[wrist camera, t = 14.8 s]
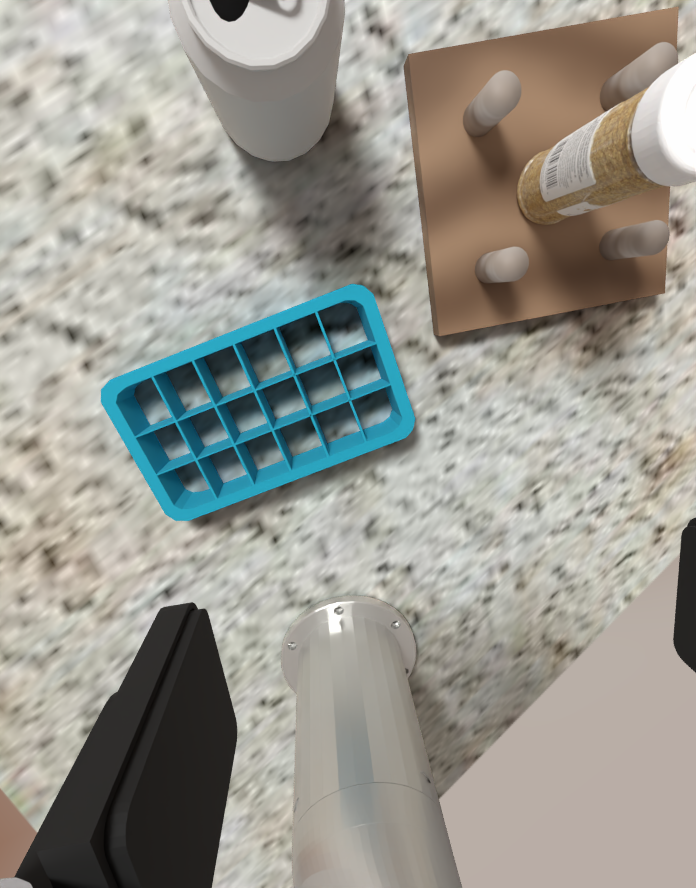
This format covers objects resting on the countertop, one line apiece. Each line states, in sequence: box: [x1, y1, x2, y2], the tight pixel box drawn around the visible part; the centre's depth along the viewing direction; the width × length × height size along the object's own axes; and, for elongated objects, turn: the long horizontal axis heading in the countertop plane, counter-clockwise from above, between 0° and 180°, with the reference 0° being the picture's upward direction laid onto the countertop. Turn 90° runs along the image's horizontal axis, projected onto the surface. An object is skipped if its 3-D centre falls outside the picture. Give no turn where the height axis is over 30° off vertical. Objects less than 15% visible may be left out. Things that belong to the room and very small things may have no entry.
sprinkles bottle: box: [517, 53, 696, 225], centre depth 24 cm, size 5×5×14 cm
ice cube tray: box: [101, 284, 415, 521], centre depth 34 cm, size 12×20×3 cm, turn 110°
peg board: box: [404, 7, 679, 336], centre depth 29 cm, size 17×17×6 cm
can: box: [168, 0, 345, 162], centre depth 23 cm, size 8×8×12 cm
